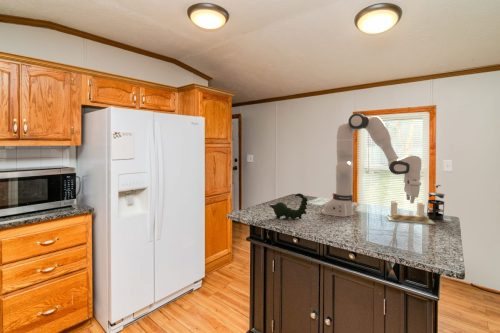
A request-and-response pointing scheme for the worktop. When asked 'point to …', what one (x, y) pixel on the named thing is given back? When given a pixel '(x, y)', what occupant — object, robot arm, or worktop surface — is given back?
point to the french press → (436, 206)
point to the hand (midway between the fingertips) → (409, 201)
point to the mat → (410, 221)
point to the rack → (419, 208)
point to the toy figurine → (283, 210)
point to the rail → (411, 217)
